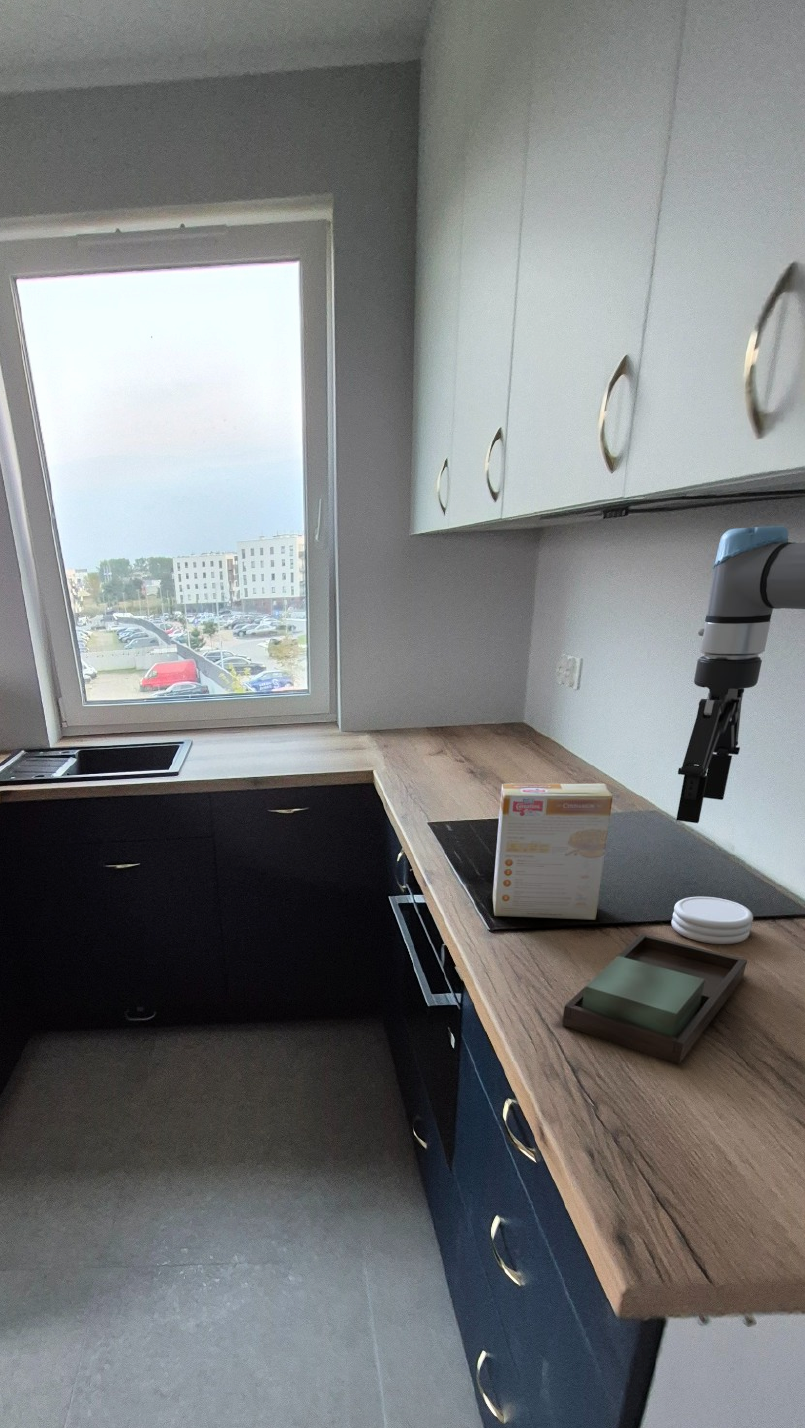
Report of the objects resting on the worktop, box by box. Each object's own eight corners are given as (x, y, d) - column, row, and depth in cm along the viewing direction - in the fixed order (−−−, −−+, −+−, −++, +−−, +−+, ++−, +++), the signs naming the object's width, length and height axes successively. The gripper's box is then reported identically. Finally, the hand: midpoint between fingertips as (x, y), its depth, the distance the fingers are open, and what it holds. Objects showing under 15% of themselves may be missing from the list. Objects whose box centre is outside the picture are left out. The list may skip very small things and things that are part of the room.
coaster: (661, 916, 121) (665, 894, 120) (732, 917, 120) (737, 895, 118) (683, 944, 112) (688, 922, 111) (760, 946, 111) (766, 923, 109)
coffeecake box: (589, 903, 127) (606, 782, 119) (596, 921, 121) (615, 795, 112) (491, 899, 130) (501, 781, 122) (493, 917, 124) (504, 794, 116)
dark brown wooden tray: (742, 978, 103) (751, 942, 101) (678, 1064, 87) (687, 1023, 85) (638, 950, 111) (644, 916, 109) (561, 1025, 95) (567, 987, 93)
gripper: (722, 645, 117) (695, 786, 126) (672, 666, 101) (646, 827, 109) (781, 646, 113) (749, 792, 122) (740, 668, 96) (706, 836, 105)
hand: (700, 809), depth 116 cm, fingers open, 13 cm apart
